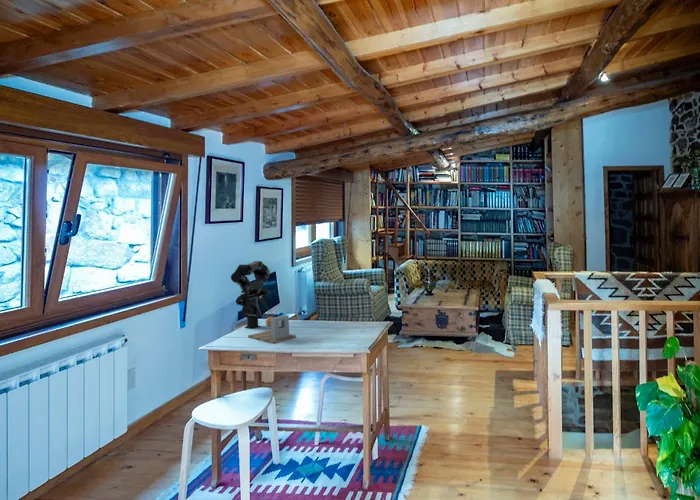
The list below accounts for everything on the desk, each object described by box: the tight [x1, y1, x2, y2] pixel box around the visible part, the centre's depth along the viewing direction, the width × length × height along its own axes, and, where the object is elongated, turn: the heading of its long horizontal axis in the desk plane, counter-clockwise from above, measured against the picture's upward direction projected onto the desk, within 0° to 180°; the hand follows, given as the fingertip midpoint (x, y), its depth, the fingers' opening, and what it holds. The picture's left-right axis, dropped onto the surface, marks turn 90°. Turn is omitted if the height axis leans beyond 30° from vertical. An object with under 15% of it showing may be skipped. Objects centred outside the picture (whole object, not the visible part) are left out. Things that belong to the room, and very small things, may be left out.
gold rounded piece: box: [265, 316, 282, 328], centre depth 252 cm, size 8×5×5 cm, turn 48°
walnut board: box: [247, 329, 297, 345], centre depth 254 cm, size 20×15×1 cm
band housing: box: [269, 314, 290, 340], centre depth 249 cm, size 3×9×10 cm, turn 138°
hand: (260, 309), depth 260 cm, fingers open, 9 cm apart
